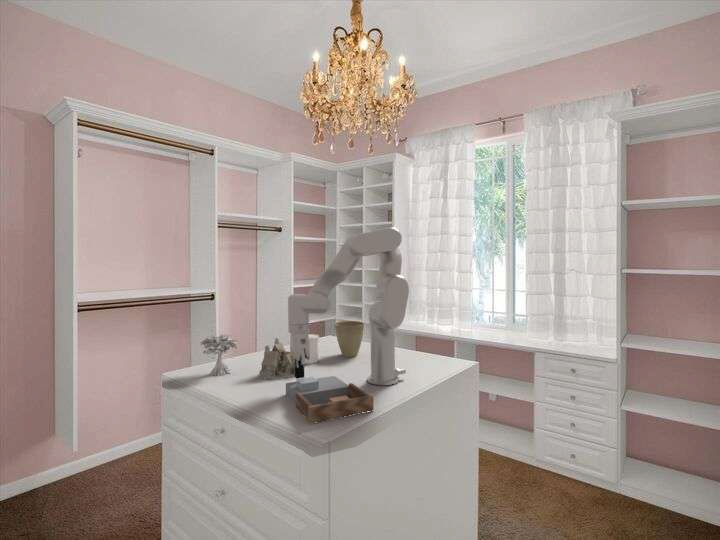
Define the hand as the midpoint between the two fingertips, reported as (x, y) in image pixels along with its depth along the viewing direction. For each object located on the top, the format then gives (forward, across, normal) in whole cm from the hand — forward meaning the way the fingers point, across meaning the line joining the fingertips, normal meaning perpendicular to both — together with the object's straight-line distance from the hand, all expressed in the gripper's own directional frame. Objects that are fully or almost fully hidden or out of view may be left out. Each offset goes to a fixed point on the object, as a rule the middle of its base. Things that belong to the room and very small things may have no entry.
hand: (299, 377), depth 150 cm
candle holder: (+5, +38, -17) cm, 42 cm away
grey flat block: (+5, -8, -4) cm, 10 cm away
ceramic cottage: (+6, +24, +1) cm, 25 cm away
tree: (+5, +38, +23) cm, 45 cm away
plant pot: (+5, +40, -39) cm, 56 cm away
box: (+5, -22, -4) cm, 23 cm away
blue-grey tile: (+1, -9, 0) cm, 9 cm away
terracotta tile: (+3, -21, -8) cm, 22 cm away
